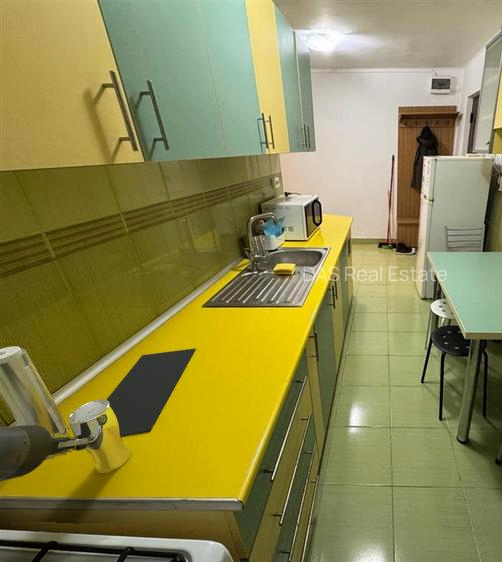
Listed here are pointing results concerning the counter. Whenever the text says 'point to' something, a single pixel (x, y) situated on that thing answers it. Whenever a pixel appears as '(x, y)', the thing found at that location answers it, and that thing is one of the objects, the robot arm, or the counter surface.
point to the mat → (147, 389)
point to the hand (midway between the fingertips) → (83, 442)
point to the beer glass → (100, 434)
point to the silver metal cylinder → (28, 392)
